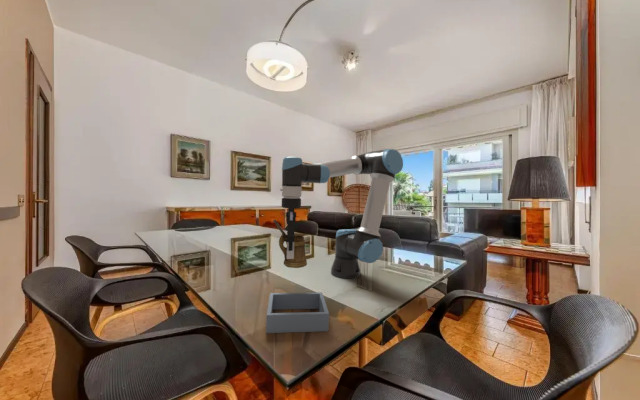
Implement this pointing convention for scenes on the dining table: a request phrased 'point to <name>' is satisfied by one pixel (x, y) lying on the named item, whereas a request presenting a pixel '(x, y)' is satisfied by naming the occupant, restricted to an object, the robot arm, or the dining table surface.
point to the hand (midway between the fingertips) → (290, 255)
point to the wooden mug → (298, 250)
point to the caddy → (297, 320)
